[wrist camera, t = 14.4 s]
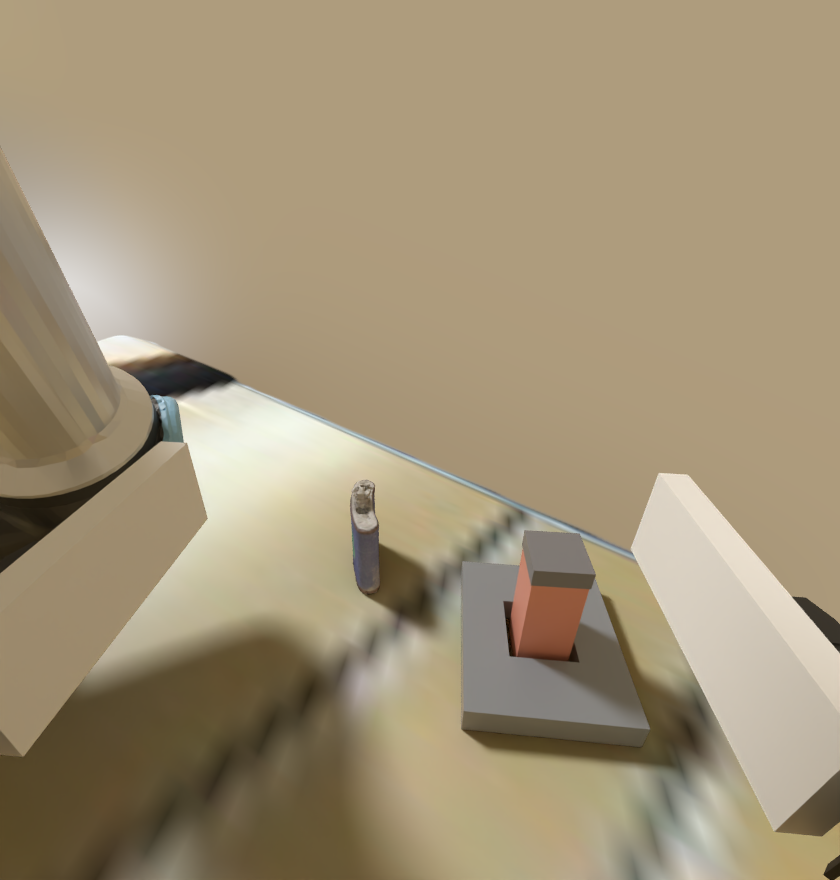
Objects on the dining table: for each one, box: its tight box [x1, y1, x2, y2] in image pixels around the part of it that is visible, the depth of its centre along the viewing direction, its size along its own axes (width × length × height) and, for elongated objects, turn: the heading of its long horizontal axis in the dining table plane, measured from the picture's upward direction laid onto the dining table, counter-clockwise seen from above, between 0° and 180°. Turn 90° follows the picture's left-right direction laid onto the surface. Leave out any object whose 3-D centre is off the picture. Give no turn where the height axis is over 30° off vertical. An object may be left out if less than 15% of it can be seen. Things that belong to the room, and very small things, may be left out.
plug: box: [509, 530, 596, 662], centre depth 38 cm, size 5×5×12 cm
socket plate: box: [461, 561, 650, 747], centre depth 40 cm, size 14×16×2 cm
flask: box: [350, 480, 380, 594], centre depth 47 cm, size 9×3×11 cm, turn 9°
